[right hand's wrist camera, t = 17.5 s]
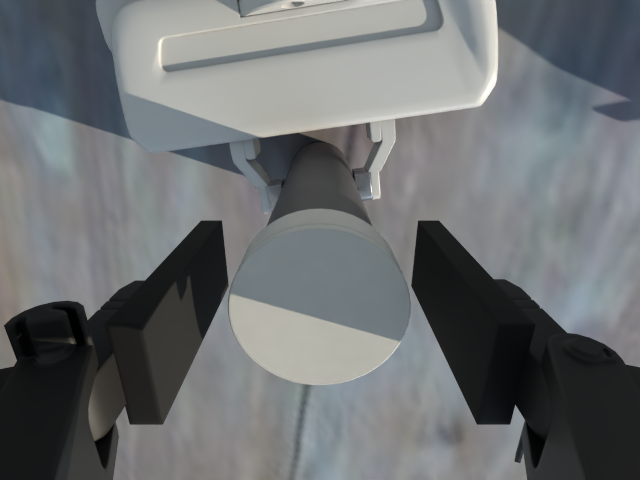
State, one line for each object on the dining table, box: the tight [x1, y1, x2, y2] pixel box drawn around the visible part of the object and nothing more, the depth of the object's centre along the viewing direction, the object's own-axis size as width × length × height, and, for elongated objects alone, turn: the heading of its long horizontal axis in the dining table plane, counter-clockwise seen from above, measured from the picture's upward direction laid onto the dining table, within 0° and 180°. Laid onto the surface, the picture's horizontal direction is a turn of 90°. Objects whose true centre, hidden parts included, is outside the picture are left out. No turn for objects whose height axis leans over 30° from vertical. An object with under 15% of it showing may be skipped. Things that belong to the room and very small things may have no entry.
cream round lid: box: [228, 209, 411, 385], centre depth 11 cm, size 5×5×2 cm
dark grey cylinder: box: [267, 142, 372, 226], centre depth 20 cm, size 4×4×19 cm
